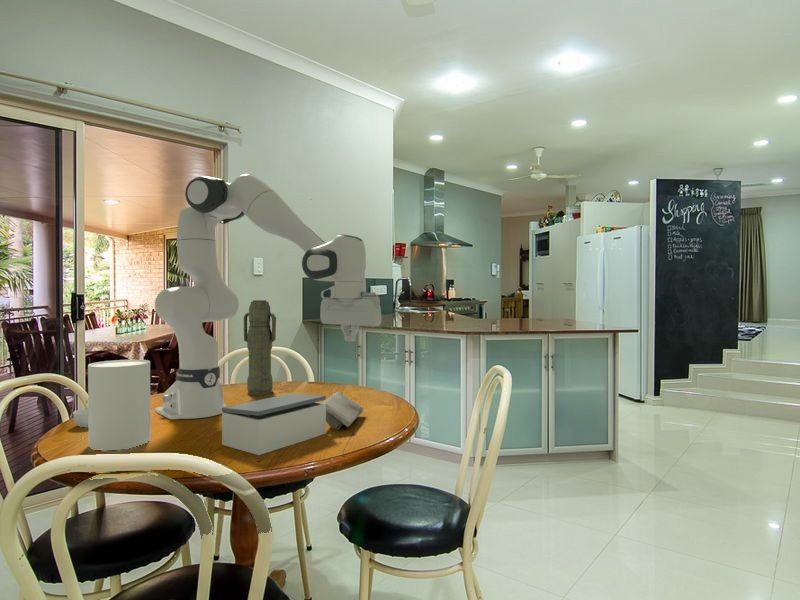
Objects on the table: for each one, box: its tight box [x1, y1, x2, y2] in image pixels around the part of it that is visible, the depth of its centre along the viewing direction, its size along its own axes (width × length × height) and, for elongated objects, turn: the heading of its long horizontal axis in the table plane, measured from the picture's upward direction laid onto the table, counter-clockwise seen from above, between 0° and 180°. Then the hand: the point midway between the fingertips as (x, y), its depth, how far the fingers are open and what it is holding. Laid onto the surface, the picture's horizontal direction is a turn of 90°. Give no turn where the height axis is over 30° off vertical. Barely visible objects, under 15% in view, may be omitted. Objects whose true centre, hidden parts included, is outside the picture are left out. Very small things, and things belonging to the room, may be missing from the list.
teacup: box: [72, 408, 88, 428], centre depth 141 cm, size 10×10×5 cm
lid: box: [222, 393, 327, 416], centre depth 129 cm, size 14×22×1 cm, turn 144°
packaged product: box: [321, 391, 364, 431], centre depth 143 cm, size 18×5×10 cm
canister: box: [87, 359, 152, 451], centre depth 125 cm, size 14×14×20 cm
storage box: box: [221, 401, 327, 456], centre depth 129 cm, size 14×22×8 cm, turn 144°
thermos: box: [243, 299, 277, 396], centre depth 183 cm, size 9×12×35 cm
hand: (350, 341), depth 142 cm, fingers closed
